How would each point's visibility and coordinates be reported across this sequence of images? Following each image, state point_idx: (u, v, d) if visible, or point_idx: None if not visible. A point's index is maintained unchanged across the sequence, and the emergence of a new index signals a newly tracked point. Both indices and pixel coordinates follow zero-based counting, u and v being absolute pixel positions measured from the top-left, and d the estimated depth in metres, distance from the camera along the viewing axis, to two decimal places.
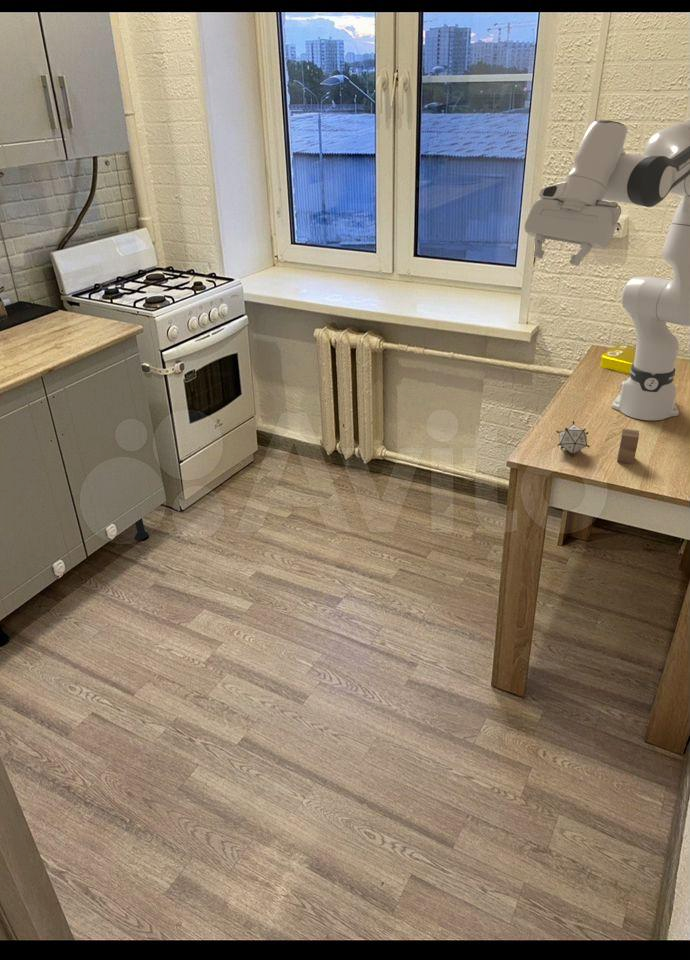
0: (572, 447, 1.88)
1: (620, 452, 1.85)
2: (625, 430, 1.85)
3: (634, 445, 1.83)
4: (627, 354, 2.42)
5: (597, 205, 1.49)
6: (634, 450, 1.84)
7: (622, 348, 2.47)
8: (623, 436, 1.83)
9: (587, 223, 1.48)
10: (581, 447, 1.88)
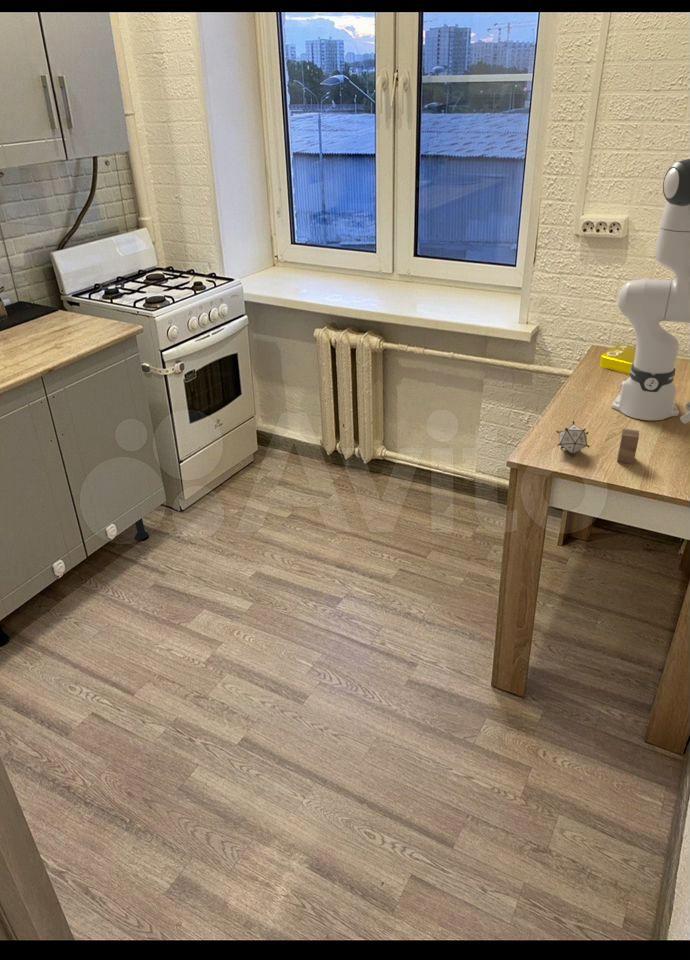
0: (572, 447, 1.88)
1: (620, 452, 1.85)
2: (625, 430, 1.85)
3: (634, 445, 1.83)
4: (627, 354, 2.42)
5: None
6: (634, 450, 1.84)
7: (622, 348, 2.47)
8: (623, 436, 1.83)
9: None
10: (581, 447, 1.88)
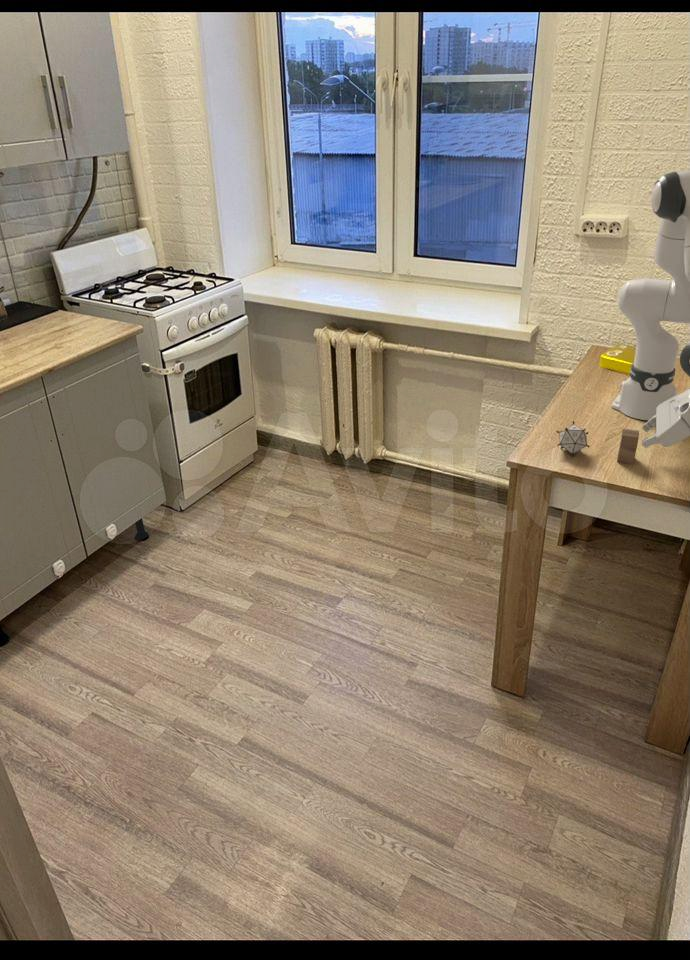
0: (572, 447, 1.88)
1: (620, 452, 1.85)
2: (625, 430, 1.85)
3: (634, 445, 1.83)
4: (627, 354, 2.43)
5: None
6: (634, 450, 1.84)
7: (622, 348, 2.47)
8: (623, 436, 1.83)
9: None
10: (581, 447, 1.88)
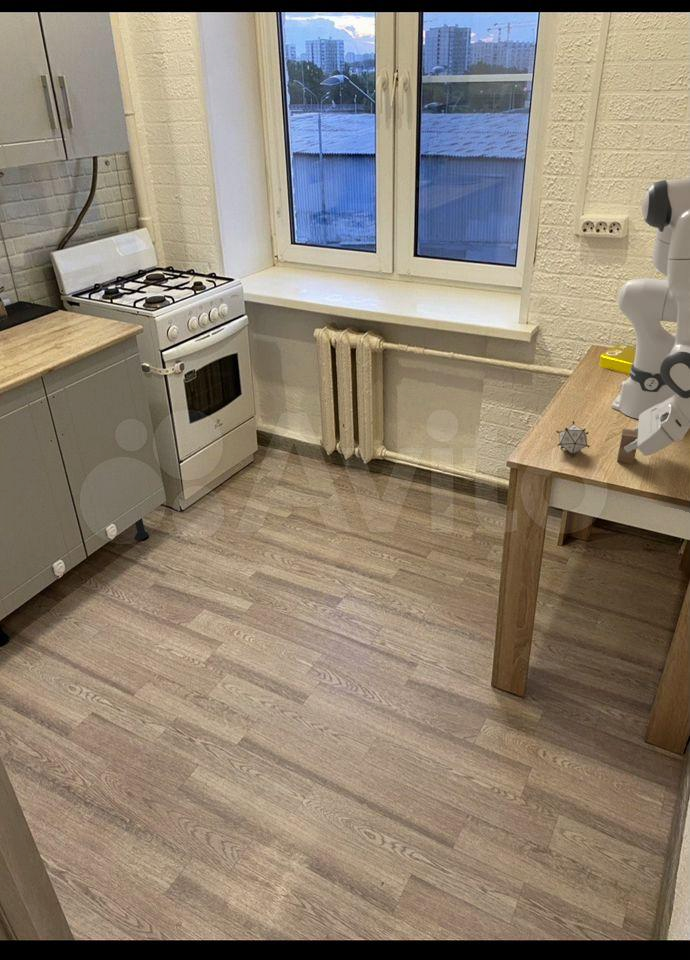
0: (572, 447, 1.88)
1: (620, 452, 1.85)
2: (625, 430, 1.85)
3: None
4: (626, 354, 2.43)
5: None
6: (634, 450, 1.84)
7: (621, 348, 2.47)
8: (623, 436, 1.83)
9: None
10: (581, 447, 1.88)
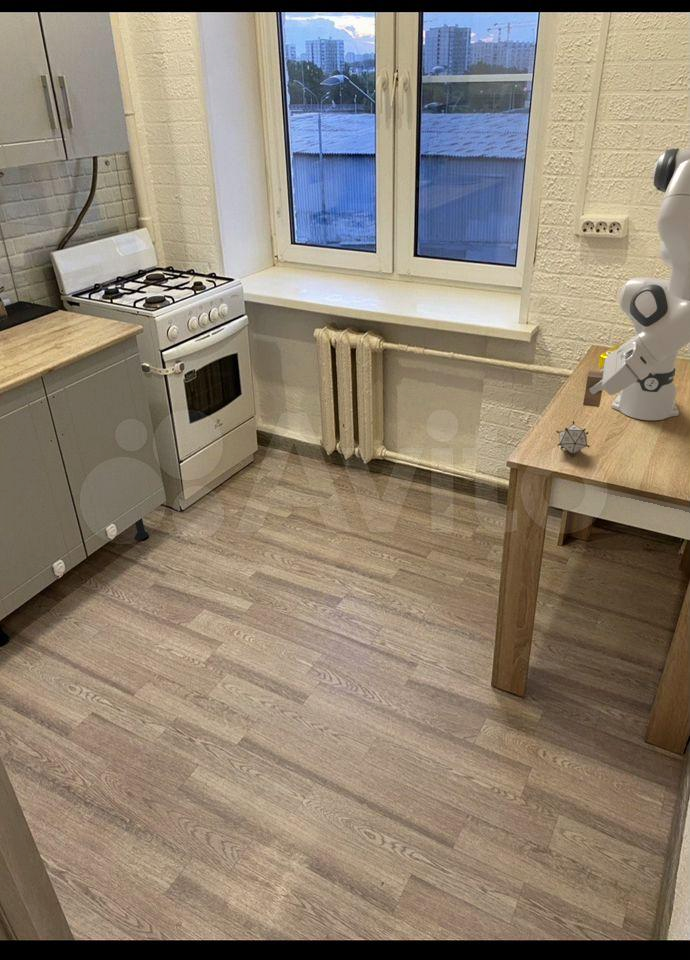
0: (572, 447, 1.88)
1: (586, 394, 1.81)
2: (590, 372, 1.80)
3: None
4: None
5: None
6: (600, 392, 1.79)
7: None
8: (588, 377, 1.78)
9: None
10: (581, 447, 1.88)
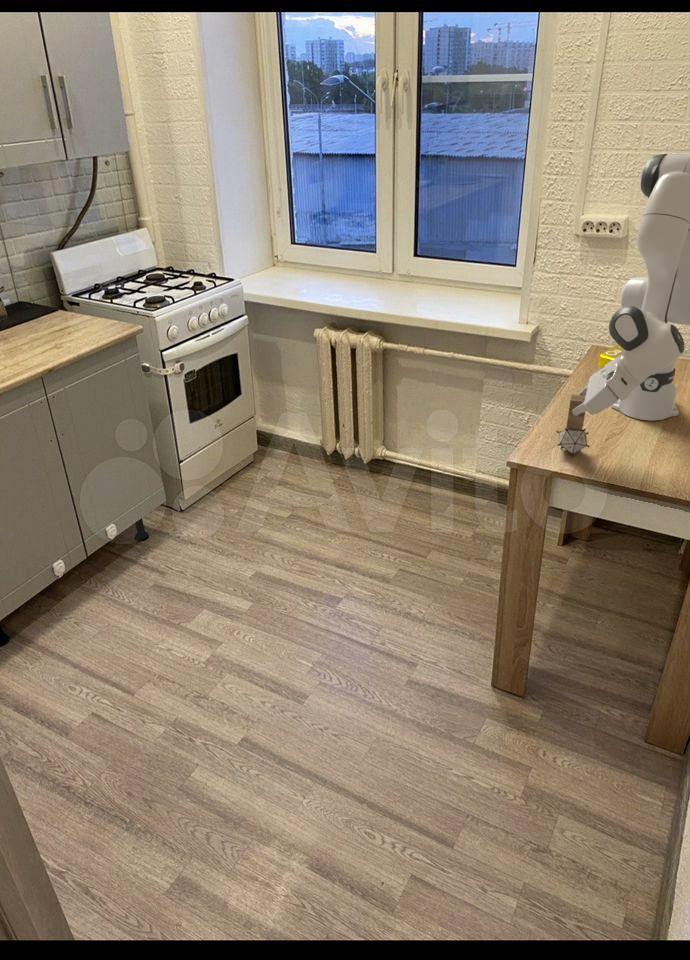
0: (572, 447, 1.88)
1: (569, 417, 1.86)
2: (573, 395, 1.85)
3: None
4: None
5: None
6: (582, 415, 1.84)
7: (621, 348, 2.48)
8: (571, 401, 1.83)
9: None
10: (581, 447, 1.88)
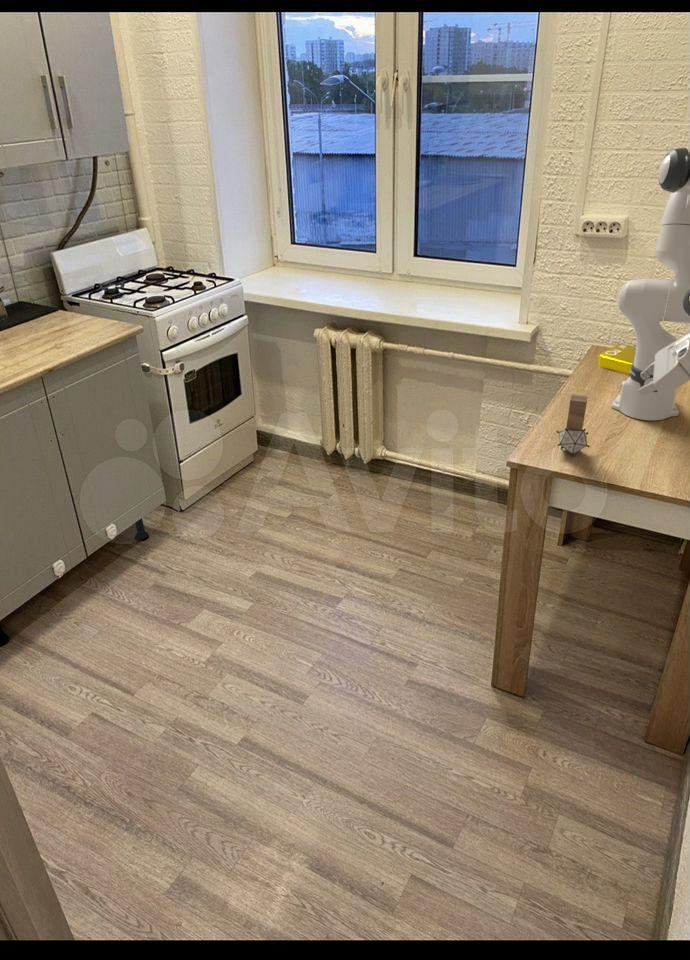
0: (572, 447, 1.88)
1: (569, 417, 1.86)
2: (573, 395, 1.86)
3: (582, 410, 1.83)
4: (625, 353, 2.43)
5: None
6: (582, 415, 1.84)
7: (621, 348, 2.48)
8: (571, 401, 1.83)
9: None
10: (581, 447, 1.88)
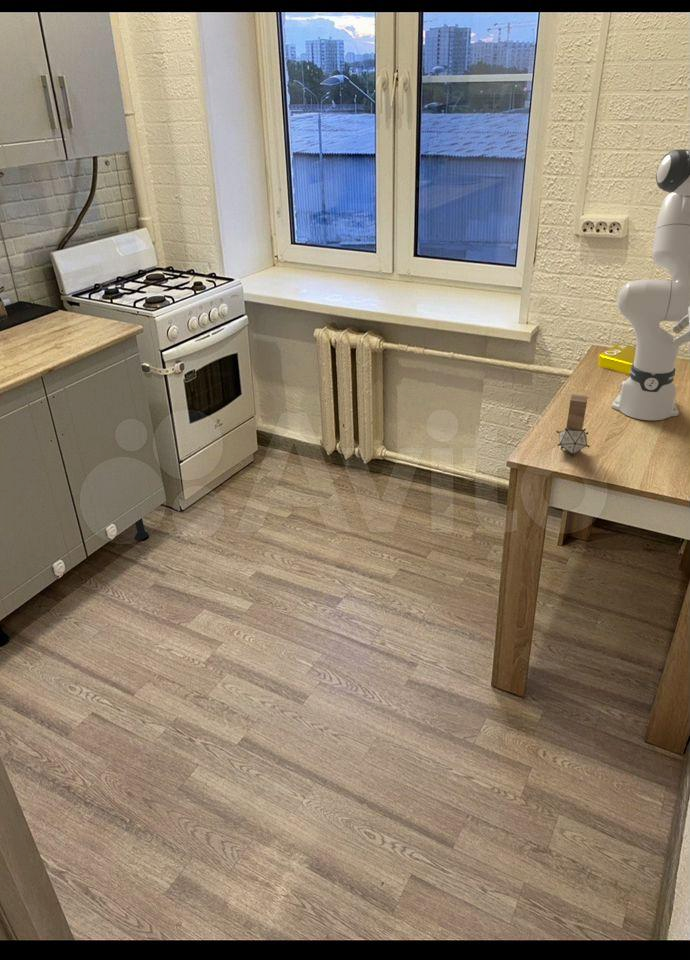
0: (572, 447, 1.88)
1: (569, 418, 1.86)
2: (573, 395, 1.86)
3: (582, 410, 1.83)
4: (625, 353, 2.43)
5: None
6: (582, 415, 1.84)
7: (621, 348, 2.48)
8: (571, 401, 1.83)
9: None
10: (581, 447, 1.88)
